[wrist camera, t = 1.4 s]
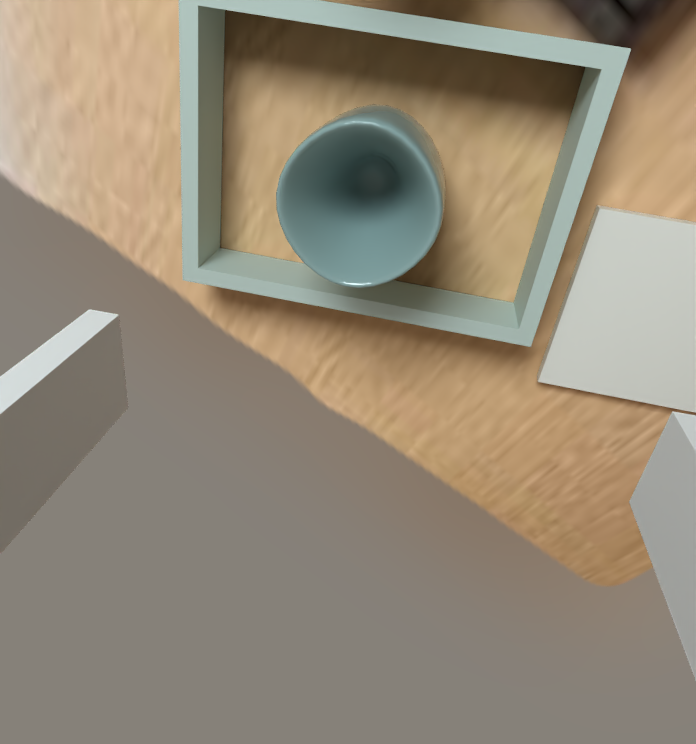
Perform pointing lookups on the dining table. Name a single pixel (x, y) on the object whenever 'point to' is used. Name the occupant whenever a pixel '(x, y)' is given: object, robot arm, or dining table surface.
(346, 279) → the cup
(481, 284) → the dining table surface
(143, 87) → the dining table surface
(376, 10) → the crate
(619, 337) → the plate
